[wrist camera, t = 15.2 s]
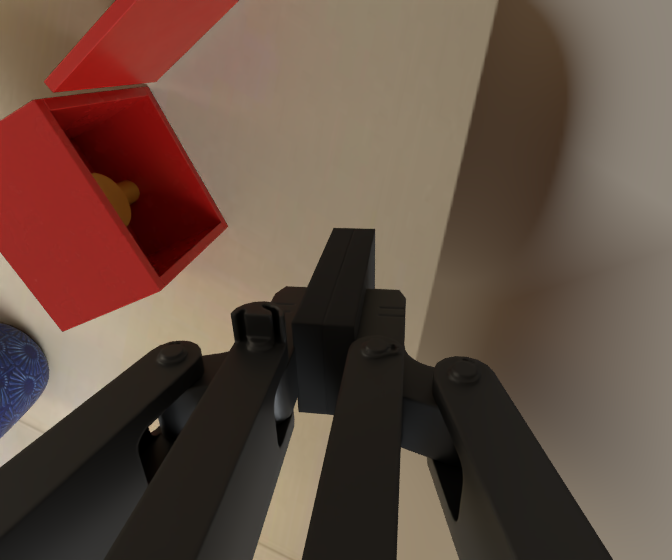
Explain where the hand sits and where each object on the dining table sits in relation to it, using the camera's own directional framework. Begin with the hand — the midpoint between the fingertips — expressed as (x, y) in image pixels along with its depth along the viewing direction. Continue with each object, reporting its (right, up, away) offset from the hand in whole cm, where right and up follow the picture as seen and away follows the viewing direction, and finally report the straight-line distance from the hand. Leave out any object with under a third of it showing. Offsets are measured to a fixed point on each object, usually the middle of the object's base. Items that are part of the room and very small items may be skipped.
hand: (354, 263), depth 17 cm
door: (-12, +21, +20) cm, 31 cm away
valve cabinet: (-18, +9, +27) cm, 34 cm away
